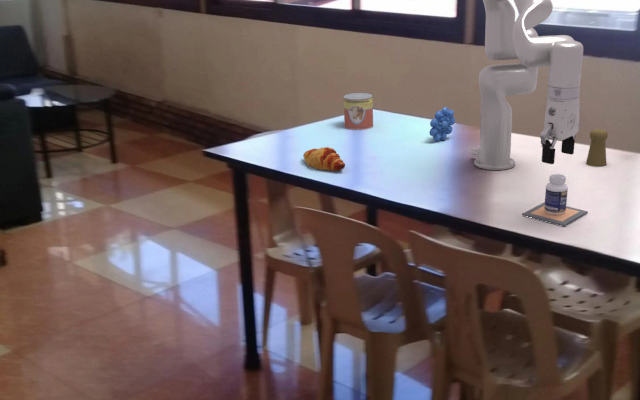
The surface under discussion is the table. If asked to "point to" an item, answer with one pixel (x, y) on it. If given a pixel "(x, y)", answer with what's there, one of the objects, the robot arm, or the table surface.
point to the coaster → (563, 219)
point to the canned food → (358, 111)
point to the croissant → (324, 159)
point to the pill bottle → (556, 195)
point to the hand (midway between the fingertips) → (557, 158)
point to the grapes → (442, 124)
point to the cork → (597, 148)
